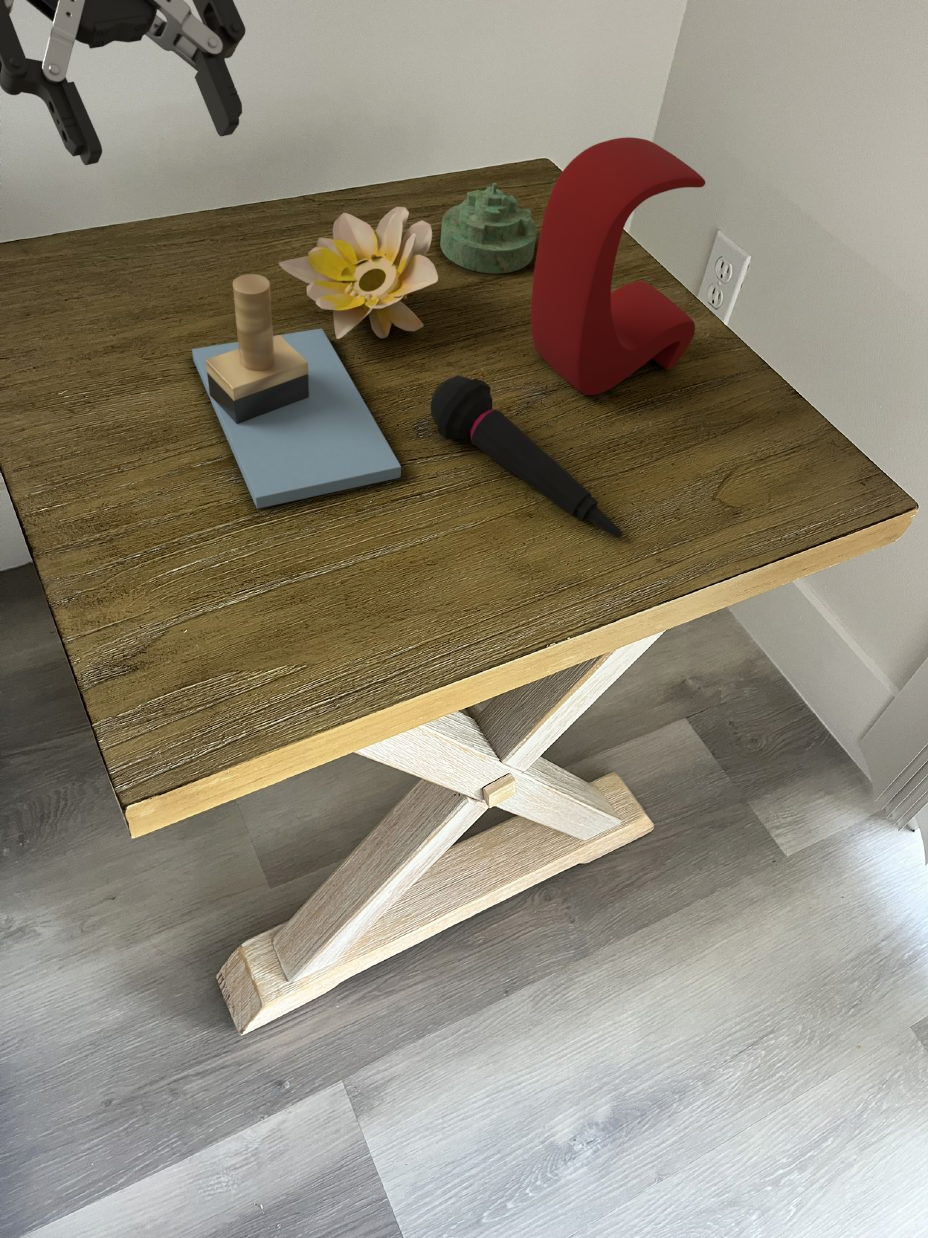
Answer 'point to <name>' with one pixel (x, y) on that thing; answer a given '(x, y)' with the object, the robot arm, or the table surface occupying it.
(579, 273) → the red curved piece
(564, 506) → the microphone
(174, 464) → the table surface
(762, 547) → the table surface
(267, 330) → the wooden stamp
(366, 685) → the table surface
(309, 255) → the decorative flower
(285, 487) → the mat
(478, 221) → the decorative artifact
